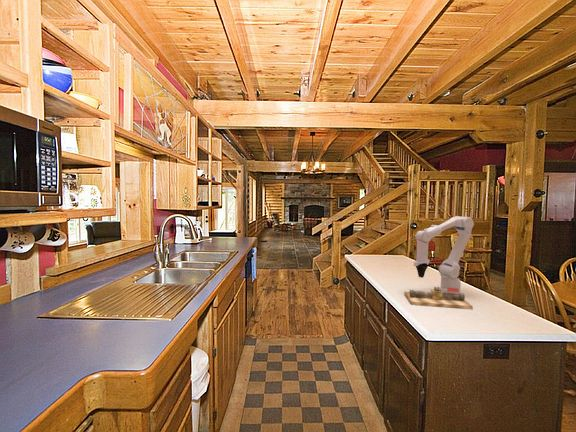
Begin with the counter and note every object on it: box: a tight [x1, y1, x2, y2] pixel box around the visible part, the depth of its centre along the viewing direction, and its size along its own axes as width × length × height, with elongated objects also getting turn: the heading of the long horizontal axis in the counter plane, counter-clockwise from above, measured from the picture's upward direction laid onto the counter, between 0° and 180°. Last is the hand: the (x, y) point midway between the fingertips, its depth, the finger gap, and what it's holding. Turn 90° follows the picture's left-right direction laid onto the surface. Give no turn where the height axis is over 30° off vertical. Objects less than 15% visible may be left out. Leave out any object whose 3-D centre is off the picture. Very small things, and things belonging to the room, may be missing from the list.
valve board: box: [403, 288, 473, 310], centre depth 154 cm, size 28×16×6 cm, turn 80°
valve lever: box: [433, 286, 459, 292], centre depth 153 cm, size 11×2×1 cm, turn 81°
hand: (421, 277), depth 165 cm, fingers closed
